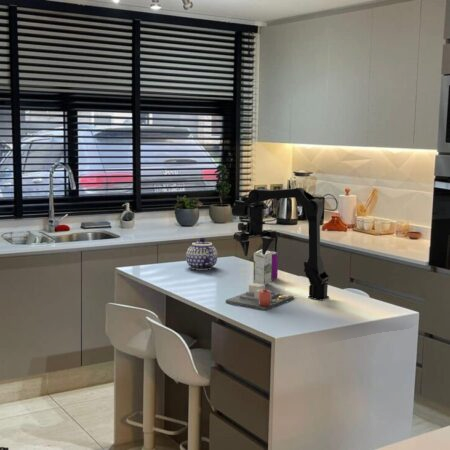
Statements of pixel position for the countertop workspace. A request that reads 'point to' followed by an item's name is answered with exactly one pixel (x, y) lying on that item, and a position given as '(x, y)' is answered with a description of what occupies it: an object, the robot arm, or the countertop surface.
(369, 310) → the countertop surface
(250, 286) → the breaker
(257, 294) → the block
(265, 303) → the lockout cap
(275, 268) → the beverage can
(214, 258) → the teapot
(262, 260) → the syrup box
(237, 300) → the panel
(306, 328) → the countertop surface
